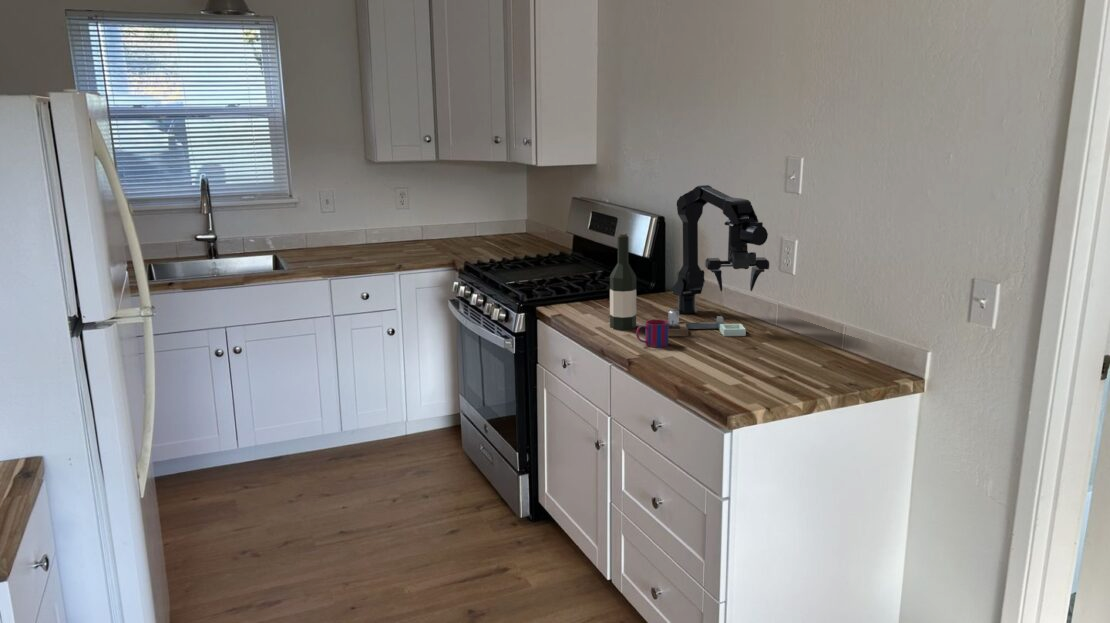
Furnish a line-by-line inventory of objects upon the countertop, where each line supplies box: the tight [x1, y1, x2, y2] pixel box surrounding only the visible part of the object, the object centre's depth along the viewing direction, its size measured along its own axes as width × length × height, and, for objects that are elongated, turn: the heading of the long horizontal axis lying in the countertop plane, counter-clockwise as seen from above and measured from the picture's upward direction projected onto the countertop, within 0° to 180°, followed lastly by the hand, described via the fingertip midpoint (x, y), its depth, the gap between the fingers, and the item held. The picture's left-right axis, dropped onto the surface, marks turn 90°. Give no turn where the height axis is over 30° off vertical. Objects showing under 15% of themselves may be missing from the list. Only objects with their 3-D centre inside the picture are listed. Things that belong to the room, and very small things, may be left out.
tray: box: [719, 323, 747, 337], centre depth 251 cm, size 7×7×2 cm
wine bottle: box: [609, 232, 637, 331], centre depth 258 cm, size 8×8×30 cm
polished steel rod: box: [667, 309, 680, 329], centre depth 252 cm, size 3×3×7 cm
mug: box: [635, 318, 669, 348], centre depth 240 cm, size 7×10×7 cm
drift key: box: [684, 315, 724, 330], centre depth 257 cm, size 3×12×3 cm, turn 89°
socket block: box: [668, 320, 689, 337], centre depth 254 cm, size 11×8×2 cm
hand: (736, 290), depth 254 cm, fingers open, 9 cm apart
